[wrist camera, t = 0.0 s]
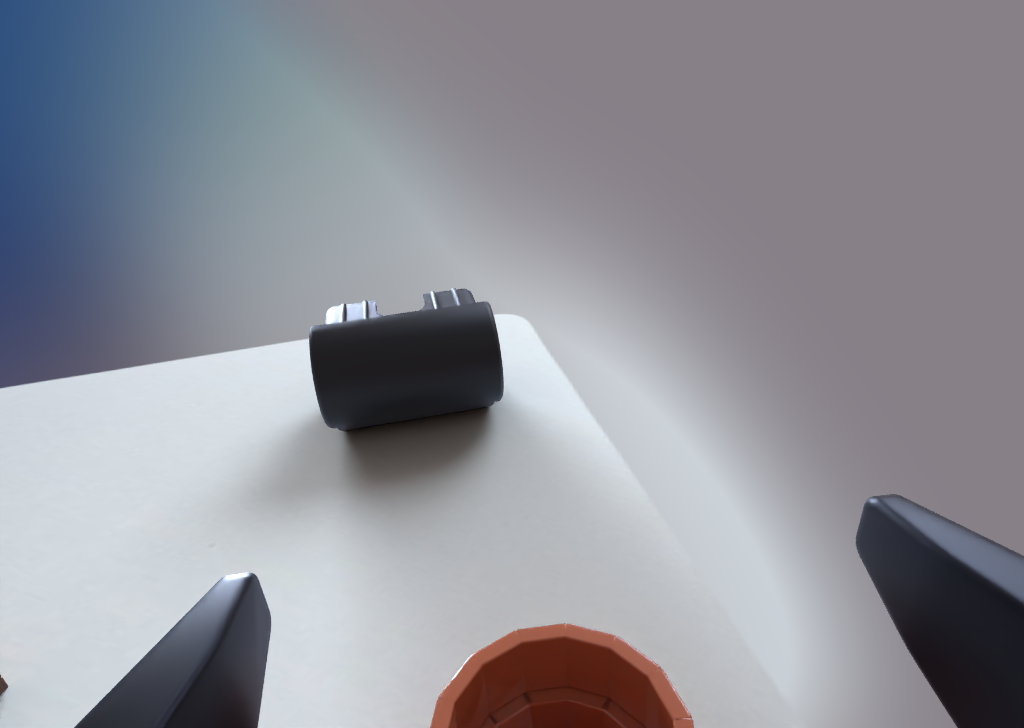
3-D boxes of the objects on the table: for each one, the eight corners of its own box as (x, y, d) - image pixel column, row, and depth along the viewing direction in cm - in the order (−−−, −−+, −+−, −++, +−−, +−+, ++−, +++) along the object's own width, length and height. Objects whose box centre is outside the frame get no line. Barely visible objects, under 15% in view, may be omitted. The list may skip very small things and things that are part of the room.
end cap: (331, 460, 35) (304, 351, 32) (336, 395, 41) (313, 299, 38) (508, 429, 37) (499, 322, 33) (488, 371, 43) (478, 276, 40)
